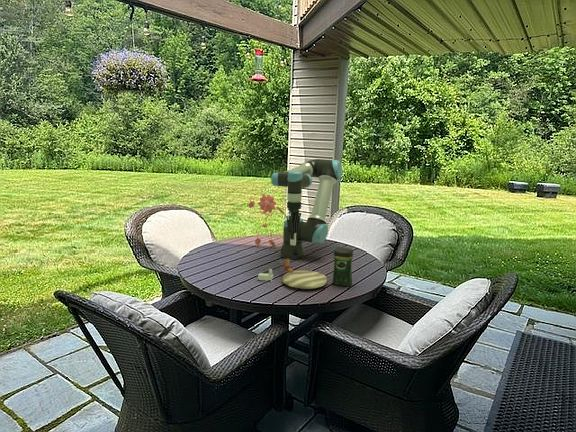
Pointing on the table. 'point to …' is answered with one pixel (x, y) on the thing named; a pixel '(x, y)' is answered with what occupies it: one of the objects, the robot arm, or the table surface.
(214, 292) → the table surface
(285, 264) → the turntable
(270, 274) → the pale green block
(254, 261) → the table surface
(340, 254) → the coffee jar
